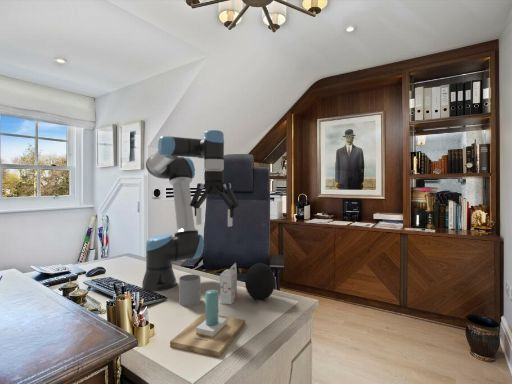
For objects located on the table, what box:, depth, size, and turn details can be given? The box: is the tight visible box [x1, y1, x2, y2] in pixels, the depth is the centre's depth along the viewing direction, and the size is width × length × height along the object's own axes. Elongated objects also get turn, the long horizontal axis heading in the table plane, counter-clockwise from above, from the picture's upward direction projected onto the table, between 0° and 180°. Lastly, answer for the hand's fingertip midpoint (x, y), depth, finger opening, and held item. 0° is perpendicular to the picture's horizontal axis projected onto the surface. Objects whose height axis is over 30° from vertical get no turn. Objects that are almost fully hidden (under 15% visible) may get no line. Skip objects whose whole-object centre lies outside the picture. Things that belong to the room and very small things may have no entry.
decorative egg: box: [244, 262, 276, 301], centre depth 120 cm, size 12×12×15 cm
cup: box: [178, 273, 202, 307], centre depth 117 cm, size 8×8×10 cm
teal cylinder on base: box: [196, 289, 227, 338], centre depth 92 cm, size 6×9×12 cm, turn 158°
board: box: [169, 312, 246, 358], centre depth 92 cm, size 16×20×2 cm
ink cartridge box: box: [219, 262, 238, 305], centre depth 119 cm, size 9×5×15 cm, turn 168°
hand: (214, 225), depth 113 cm, fingers open, 13 cm apart
